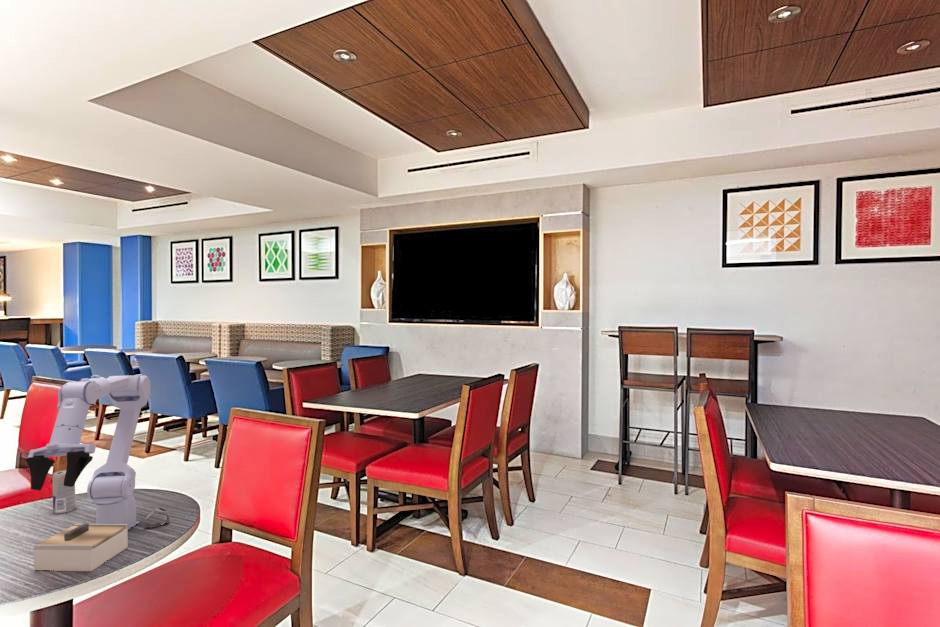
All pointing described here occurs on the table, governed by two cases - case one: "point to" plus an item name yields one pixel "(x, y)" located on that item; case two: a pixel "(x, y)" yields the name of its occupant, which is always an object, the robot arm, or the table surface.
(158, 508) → the wristwatch
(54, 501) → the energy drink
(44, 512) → the table surface
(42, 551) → the box
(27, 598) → the table surface
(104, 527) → the lid
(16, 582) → the table surface
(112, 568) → the table surface
